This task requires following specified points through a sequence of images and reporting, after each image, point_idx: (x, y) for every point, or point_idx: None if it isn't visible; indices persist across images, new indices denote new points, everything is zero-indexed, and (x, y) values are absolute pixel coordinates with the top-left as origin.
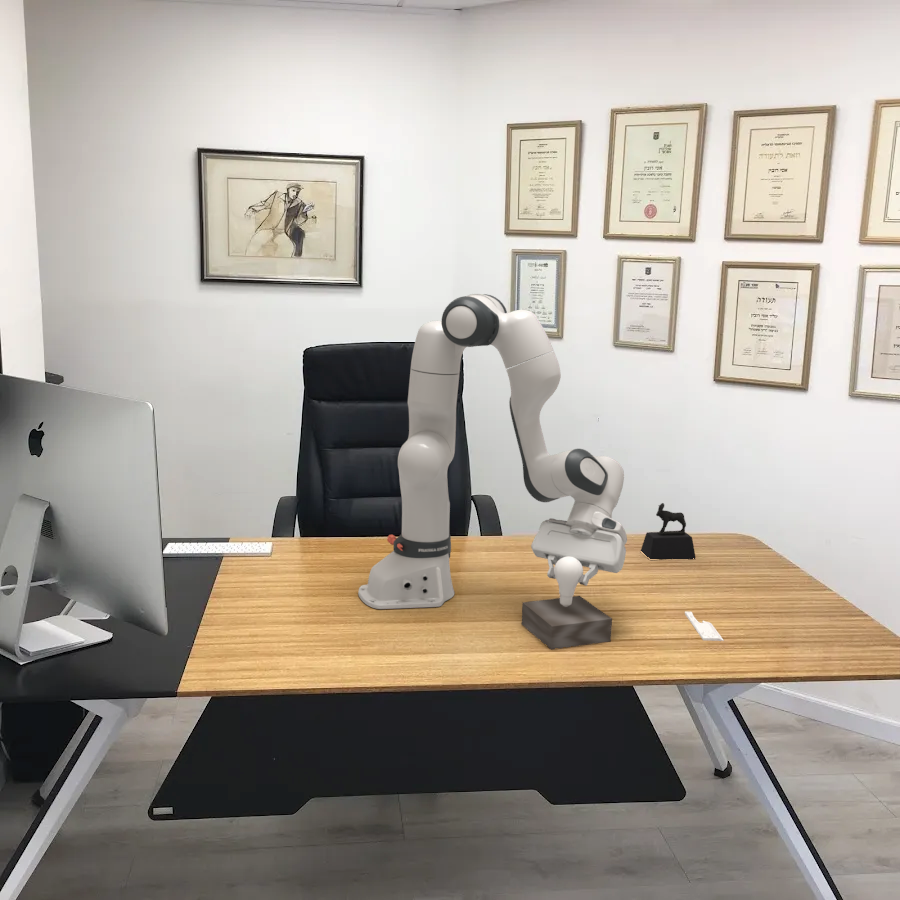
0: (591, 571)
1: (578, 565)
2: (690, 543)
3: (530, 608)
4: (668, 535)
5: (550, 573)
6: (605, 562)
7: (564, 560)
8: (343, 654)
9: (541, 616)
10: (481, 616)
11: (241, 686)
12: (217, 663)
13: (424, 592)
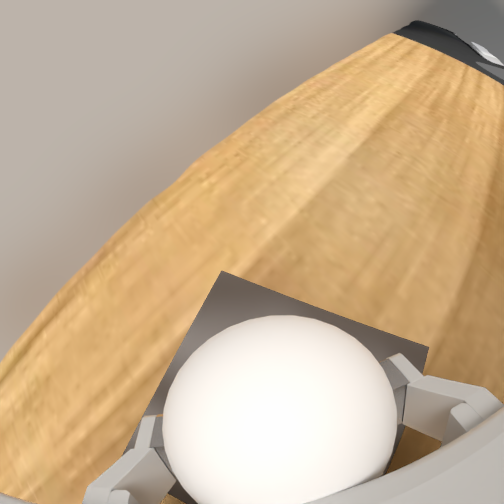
0: (108, 470)
1: (167, 425)
2: None
3: (375, 330)
4: None
5: (384, 362)
6: (4, 500)
7: (285, 355)
8: (412, 90)
9: (301, 307)
10: (480, 311)
11: (378, 41)
12: (427, 53)
13: None
